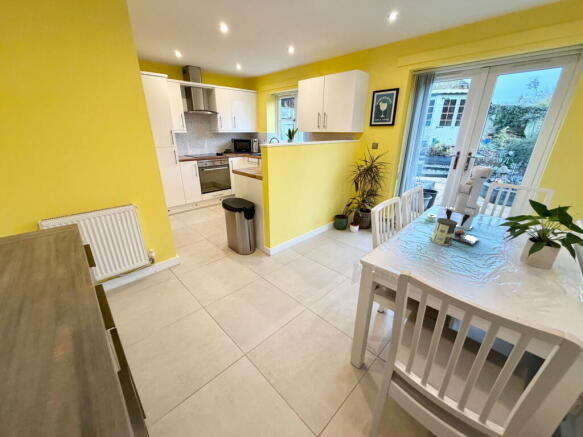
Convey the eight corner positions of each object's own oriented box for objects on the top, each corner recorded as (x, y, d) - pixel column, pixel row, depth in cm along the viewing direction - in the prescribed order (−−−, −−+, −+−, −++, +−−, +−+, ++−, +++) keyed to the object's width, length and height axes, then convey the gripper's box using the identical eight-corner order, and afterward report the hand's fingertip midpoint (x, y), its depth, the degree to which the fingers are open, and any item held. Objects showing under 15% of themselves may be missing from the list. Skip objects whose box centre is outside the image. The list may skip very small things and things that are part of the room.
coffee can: (447, 239, 145) (454, 219, 139) (452, 247, 136) (459, 225, 130) (429, 236, 148) (435, 216, 143) (433, 243, 139) (439, 222, 134)
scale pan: (462, 234, 146) (462, 233, 146) (476, 238, 141) (477, 237, 140) (458, 237, 142) (458, 236, 142) (473, 241, 136) (473, 241, 136)
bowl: (428, 218, 178) (429, 213, 176) (435, 220, 174) (437, 215, 172) (425, 220, 175) (426, 214, 173) (432, 222, 171) (434, 217, 169)
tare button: (458, 231, 151) (459, 229, 150) (462, 232, 149) (463, 230, 148) (457, 232, 149) (457, 229, 149) (461, 233, 148) (462, 231, 147)
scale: (455, 233, 154) (456, 229, 152) (478, 240, 144) (479, 236, 143) (448, 238, 146) (449, 234, 145) (471, 246, 137) (473, 242, 136)
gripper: (445, 201, 142) (439, 221, 147) (473, 208, 131) (465, 229, 137) (450, 199, 146) (444, 218, 151) (477, 205, 135) (469, 226, 141)
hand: (454, 223), depth 144 cm, fingers open, 7 cm apart
